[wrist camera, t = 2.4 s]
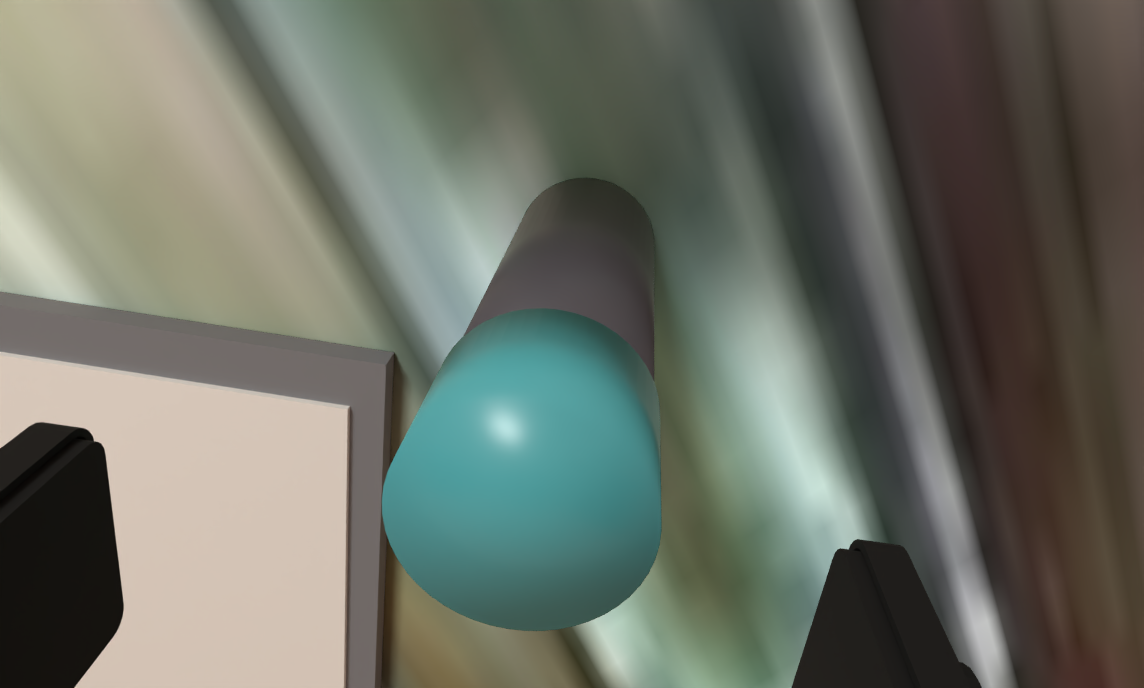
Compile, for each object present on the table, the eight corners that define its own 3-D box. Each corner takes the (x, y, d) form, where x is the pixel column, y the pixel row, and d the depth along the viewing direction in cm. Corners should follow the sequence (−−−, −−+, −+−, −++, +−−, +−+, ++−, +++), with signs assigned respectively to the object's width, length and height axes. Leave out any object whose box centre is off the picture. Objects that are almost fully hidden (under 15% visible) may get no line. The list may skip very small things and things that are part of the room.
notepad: (394, 352, 24) (384, 368, 23) (373, 878, 34) (365, 903, 33) (-213, 258, 25) (-246, 270, 24) (-55, 805, 35) (-74, 828, 34)
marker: (669, 185, 21) (685, 424, 11) (645, 321, 23) (637, 650, 12) (522, 164, 21) (386, 378, 11) (508, 300, 23) (378, 607, 12)
